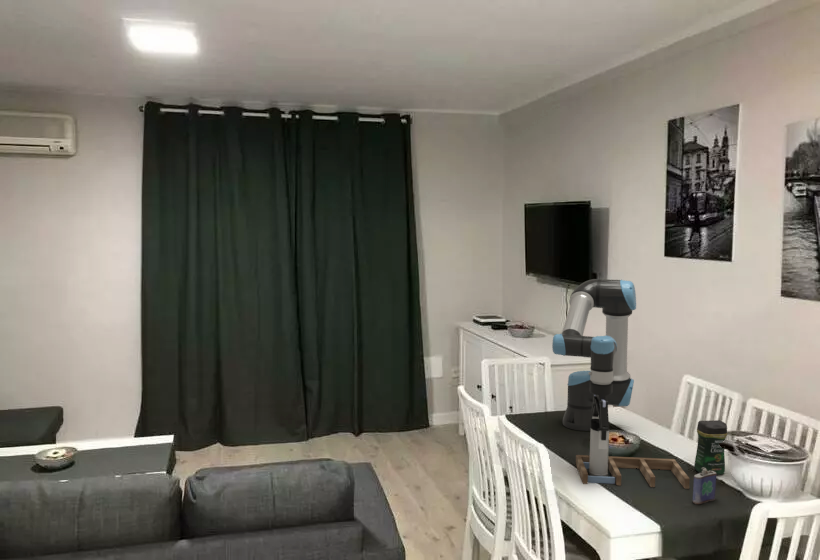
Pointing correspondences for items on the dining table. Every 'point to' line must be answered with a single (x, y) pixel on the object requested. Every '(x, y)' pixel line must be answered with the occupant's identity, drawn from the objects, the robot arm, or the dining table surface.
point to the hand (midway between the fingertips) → (599, 441)
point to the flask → (704, 486)
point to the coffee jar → (710, 446)
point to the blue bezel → (599, 477)
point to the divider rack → (638, 463)
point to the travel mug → (597, 452)
